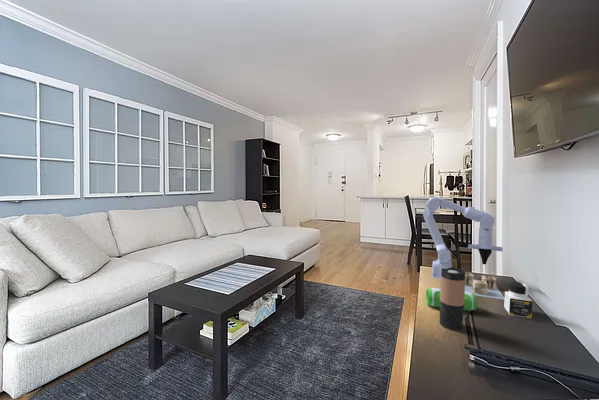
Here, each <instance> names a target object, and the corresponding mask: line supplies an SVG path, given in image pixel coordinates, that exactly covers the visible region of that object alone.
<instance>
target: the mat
mask: <svg viewBox="0 0 599 400" xmlns="http://www.w3.org/2000/svg"><path fill="white" fill-rule="evenodd" d="M465 291H466V292H471V293H474V292H473V286H465ZM474 294H475V293H474ZM475 295H476V297H481V298H482V297H484V298H491V299H498V300H504V299H505V295H503V294H502V292H501V291H500V290H499V288H498V287H497V286H496V290H490V289H488V290H487V295H482V294H475Z"/></svg>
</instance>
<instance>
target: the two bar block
mask: <svg viewBox="0 0 599 400" xmlns="http://www.w3.org/2000/svg"><path fill="white" fill-rule="evenodd" d="M481 280H482V281H486V282H487V284H488V289H490V290H496V287H497V279H496V278H495V277H494V276H491V275H490V276H489V275H481Z"/></svg>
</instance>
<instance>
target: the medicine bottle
mask: <svg viewBox="0 0 599 400" xmlns="http://www.w3.org/2000/svg"><path fill="white" fill-rule="evenodd" d="M508 284H509V285H508V291H504V298H505V299H504V301H503V302H504V304H503V308H504V309H505V310H506V312H507V314H508V315H509V316H512V317H520V318H525V317H526V318H525V319H532V317H533V300H532V299H531V297H529V288H530V287H529V285H527V284H525V283H524V282H519V281H511V282H509V283H508Z"/></svg>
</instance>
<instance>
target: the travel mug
mask: <svg viewBox="0 0 599 400" xmlns="http://www.w3.org/2000/svg"><path fill="white" fill-rule="evenodd" d="M465 273H466V271H465V270H462V269H460V268H455V267H452V268H448V269H443V268H442V270H441V279H440V288H439V289H440V308H439V324H440V326H442V327H443V328H445V329H448V330H452V331H459V330H458V329H460V330H462V329H463V321H464V312H465V311H464V295H465ZM461 328H462V329H461Z"/></svg>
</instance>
